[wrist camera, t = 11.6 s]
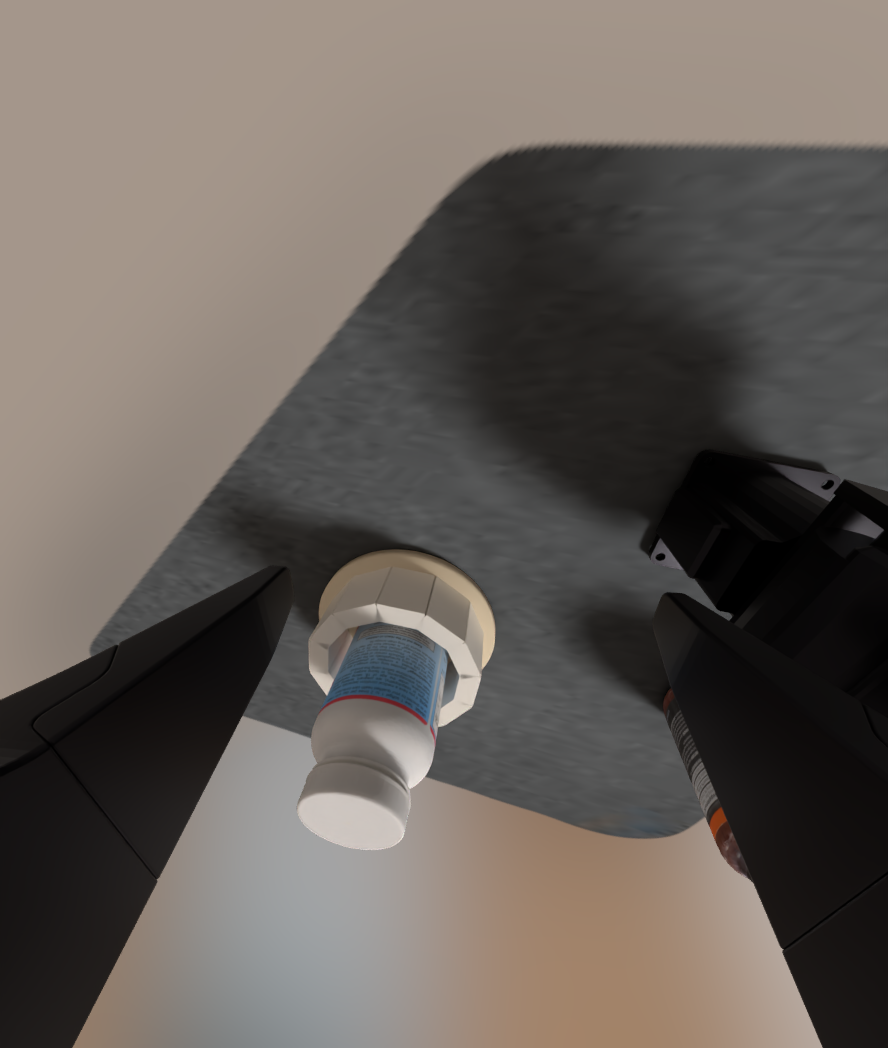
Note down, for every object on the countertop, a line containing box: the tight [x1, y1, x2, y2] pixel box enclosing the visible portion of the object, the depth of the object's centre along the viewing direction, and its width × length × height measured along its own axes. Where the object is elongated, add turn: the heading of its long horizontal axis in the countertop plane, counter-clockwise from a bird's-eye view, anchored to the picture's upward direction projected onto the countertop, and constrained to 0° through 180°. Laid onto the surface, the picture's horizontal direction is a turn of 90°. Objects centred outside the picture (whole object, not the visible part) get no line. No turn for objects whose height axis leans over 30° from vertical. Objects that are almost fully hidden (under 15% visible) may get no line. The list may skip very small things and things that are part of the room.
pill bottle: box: [297, 622, 449, 850], centre depth 21 cm, size 6×6×11 cm
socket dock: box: [309, 549, 495, 727], centre depth 25 cm, size 12×12×4 cm
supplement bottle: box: [663, 689, 753, 882], centre depth 21 cm, size 6×6×11 cm
